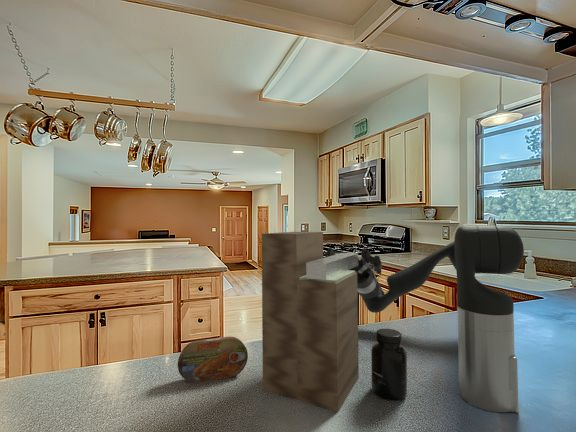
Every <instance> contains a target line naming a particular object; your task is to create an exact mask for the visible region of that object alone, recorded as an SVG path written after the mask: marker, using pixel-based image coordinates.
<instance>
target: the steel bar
mask: <svg viewBox="0 0 576 432" xmlns="http://www.w3.org/2000/svg"><path fill="white" fill-rule="evenodd" d="M335 254H336V253H335ZM358 258H359V253H357V252H354V253H353V252H340V253H337V254H336V255H332V256H329V257H325V256H324V257H323V258H322V259H318V260H314V261H311V262H307V263H306V279H319V280H328V279H330V278H332V277H334V276H336V275H338V274H341V273H343V272H345V271H347V270H349V269H352V268H354V267H356V266H358Z"/></svg>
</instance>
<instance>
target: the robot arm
mask: <svg viewBox="0 0 576 432" xmlns="http://www.w3.org/2000/svg"><path fill="white" fill-rule="evenodd" d="M524 253H525V248H524V244H523V240H522V238H521V236H520V235H519V233H518V232H517V231H516V230H515V229H514V228H512V227H510V226H505V225H462V226H459V227H457V229H456V231H455V233H454V241H452V242H450V243H448V244H447V245H445V246H443V247H441V248H439V249H438V250H435V251H434V252H432V253H431V254H428V256H425V257H424V258H422V259H420V260H419V261H418V262H415V263H414V264H411V266H408V267H406V268H404V269H401V270H399V271H397V272H395V273H393V274H390V275H388V277H387V278H386V283H387V285H388V291H387V292H386V293H385V292H384V290H383V288H382V287H381V285H380V282H379V281H378V279H377V276H376V274H378V275H380V274H382V268H383V267H382V266H383V264H382V261H381V257H380V256H379V255H374V256H372V254H371V253H370V251H369V250H367V249H366V248H361V253H360V256H361V257H358V266H356V267H354V268H352V269H349V270H352V271H355V273H357V293H358V295H359V296H360V297H361V298H362V300H363V302H364V304H365V307H366V308H367V310H368V311H369V312H371V313H375V314H377V313H381V312H383V311H384V310H386V308H387V307H389V306H390V305H391V304H392V303H393V302H395V301H396V300H398V299H399V298H400V297H402V296H404V295H406V294H409V293H410V292H413V291H415V290H417V289H419V288H420V287H422V286H423V285H424V284H425V283H426V282H427V280H428V279H429V277H430V275H431V273H432V272H433V270H434V269H435V268H436V266H437V265H438V264H439V263H440V262H441V261H442V260H444V259H445V258H446V257H447V258H448V259H449V261H450V262H451V264H452V266H453V267H454V269H455V271H456V292H457V293H456V295H457V296H456V298H457V299H456V304H457V305H456V307H457V309H456V310H457V311H456V312H457V349H458V354H457V355H458V394H459V395H460V396H461V398H462V399H463V400H464V401H466V402H467V403H468V404H470V405H472V406H475V407H477V408H479V409H482V410H484V411H489V412H495V413H509V412H511V413H516V414H518V413H519V412H520V411H519V377H518V376H519V375H518V373H519V372H518V358H517V356H516V353H515V352H516V351H515V316H514V314H515V310H514V307H515V306H514V300H513V298H512V296H510V295H509V294H507V293H506V292H503V291H500V290H497V289H495V288H492V287H489V286H488V285H485V284H483V283H482V282H480V281H479V280H478V279H477V278H476V274H486V275H487V274H488V275H489V274H490V275H491V274H492V275H493V274H494V275H508V274H512V273H514V272H516V271H517V270H518V269H519V267H520V266H521V264H522V262H523V259H524ZM332 255H336V252H335V250H334V249H333V247H328V249H326V254H325V256H324V258H325V257H329V256H332Z"/></svg>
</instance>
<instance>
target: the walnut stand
mask: <svg viewBox="0 0 576 432" xmlns="http://www.w3.org/2000/svg"><path fill="white" fill-rule="evenodd" d="M322 258H324V231H286V232H285V231H284V232H283V231H282V232H269V233H267V232H265V233H261V306H262V307H261V308H262V309H261V310H262V312H261V320H262V323H261V324H262V325H261V329H262V330H261V333H262V342H261V343H262V346H261V347H262V391H264V392H267V393H270V394H273V395H277V396H280V397H283V398H288V399H291V400H294V401H296V402H297V401H298V402H300V403H304V404H309V405H311V406H316V407H319V408H322V409H326V410H329V411H332V412H337V413H338V412H339V411H340V409H341V408H342V407H343V405H344V403H345V401H346V400H347V398H348V396H349V395H350V393H351V392H352V389H353V388H354V386H355V385H356V383H357V381H358V380H359V378H360V377H359V376H360V374H359V372H360V371H359V367H360V366H359V364H360V363H359V314H358V313H359V309H358V308H359V307H358V302H359V301H358V300H359V299H358V295H359V294H358V292H357V273H355V271H352V270H347V271H345V272H343V273H341V274H338V275H336V276H334V277H332V278H330V279H328V280H319V279H306V263H307V262H311V261H314V260H318V259H322Z"/></svg>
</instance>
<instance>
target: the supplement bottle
mask: <svg viewBox="0 0 576 432" xmlns="http://www.w3.org/2000/svg"><path fill="white" fill-rule="evenodd" d="M375 333H376V334H375V335H376V337H375V341H376V342H375V343H374V344H373V345H372V346H371V351H370V352H371V354H370V356H371V357H370V359H371V360H370V361H371V362H370V363H371V366H370V367H371V375H370V376H371V378H370V380H371V390H372V392H373V393H374V394H375V396H377V397H378V398H381V399H382V400H385V401H392V402H395V401H401V400H403V399H405V398H406V397H407V395H408V394H407V393H408V352H407V350H406V348H405V347H404V346H403V345H402V343H403V341H402V332H400V331H399V330H396V329H393V328H379V329H377V330H376V332H375Z"/></svg>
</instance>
